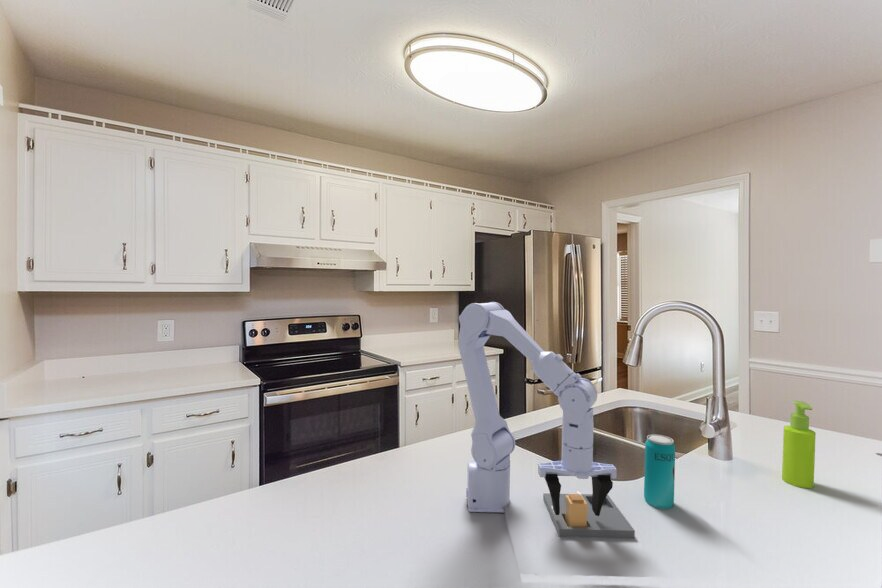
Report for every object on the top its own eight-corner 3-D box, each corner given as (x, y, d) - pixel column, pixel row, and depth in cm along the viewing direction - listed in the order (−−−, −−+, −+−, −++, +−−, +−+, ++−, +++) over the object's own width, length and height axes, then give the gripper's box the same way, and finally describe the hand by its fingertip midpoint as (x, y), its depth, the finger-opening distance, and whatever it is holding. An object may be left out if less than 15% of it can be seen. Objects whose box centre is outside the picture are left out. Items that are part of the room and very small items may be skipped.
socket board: (559, 541, 77) (559, 528, 77) (542, 501, 91) (542, 490, 91) (634, 543, 77) (634, 530, 77) (605, 502, 91) (605, 491, 91)
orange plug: (569, 532, 78) (570, 501, 78) (565, 522, 81) (565, 492, 81) (586, 532, 78) (587, 501, 78) (581, 522, 81) (581, 492, 81)
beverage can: (677, 515, 86) (679, 444, 86) (648, 512, 87) (649, 442, 87) (668, 501, 92) (670, 434, 91) (640, 498, 93) (642, 432, 92)
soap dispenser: (789, 487, 98) (792, 404, 98) (778, 475, 105) (780, 397, 104) (820, 492, 96) (823, 407, 96) (807, 479, 103) (810, 400, 102)
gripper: (544, 451, 75) (543, 523, 76) (623, 452, 75) (622, 525, 76) (536, 436, 82) (535, 503, 83) (609, 438, 82) (607, 504, 83)
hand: (576, 512), depth 80 cm, fingers open, 7 cm apart
